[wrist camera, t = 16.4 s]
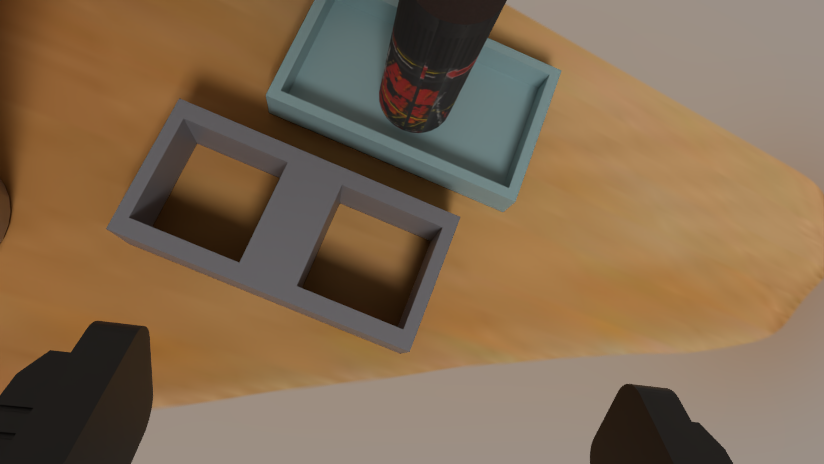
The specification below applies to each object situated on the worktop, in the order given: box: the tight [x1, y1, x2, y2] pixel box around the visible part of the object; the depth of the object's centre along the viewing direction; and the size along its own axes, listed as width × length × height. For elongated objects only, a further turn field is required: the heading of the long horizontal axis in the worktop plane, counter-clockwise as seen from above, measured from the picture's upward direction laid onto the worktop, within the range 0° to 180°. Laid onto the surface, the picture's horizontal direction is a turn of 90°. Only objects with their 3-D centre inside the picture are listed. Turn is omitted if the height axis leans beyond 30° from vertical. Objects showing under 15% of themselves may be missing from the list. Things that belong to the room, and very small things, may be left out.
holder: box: [106, 98, 460, 354], centre depth 41 cm, size 21×10×4 cm, turn 69°
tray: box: [266, 0, 561, 212], centre depth 46 cm, size 20×12×3 cm, turn 69°
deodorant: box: [379, 0, 507, 133], centre depth 39 cm, size 6×6×15 cm
